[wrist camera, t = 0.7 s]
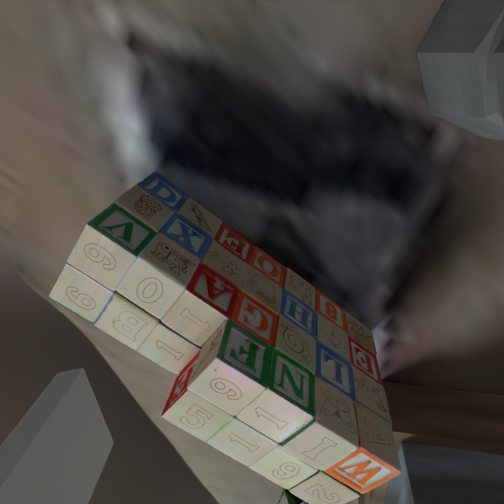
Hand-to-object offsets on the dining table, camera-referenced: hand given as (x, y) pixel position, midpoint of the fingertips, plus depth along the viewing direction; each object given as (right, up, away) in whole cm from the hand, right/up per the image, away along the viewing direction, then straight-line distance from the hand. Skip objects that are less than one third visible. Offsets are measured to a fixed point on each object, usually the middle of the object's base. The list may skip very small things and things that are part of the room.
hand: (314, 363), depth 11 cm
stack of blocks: (-2, +1, +20) cm, 20 cm away
